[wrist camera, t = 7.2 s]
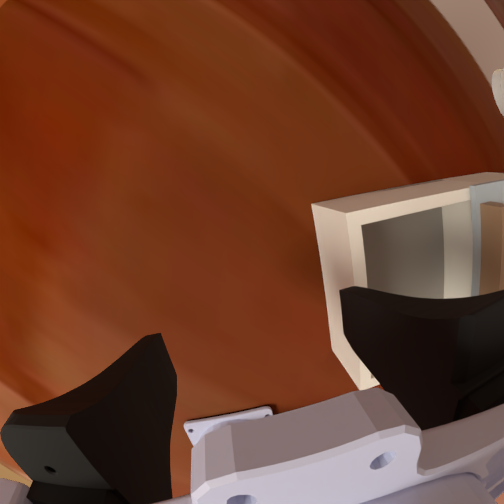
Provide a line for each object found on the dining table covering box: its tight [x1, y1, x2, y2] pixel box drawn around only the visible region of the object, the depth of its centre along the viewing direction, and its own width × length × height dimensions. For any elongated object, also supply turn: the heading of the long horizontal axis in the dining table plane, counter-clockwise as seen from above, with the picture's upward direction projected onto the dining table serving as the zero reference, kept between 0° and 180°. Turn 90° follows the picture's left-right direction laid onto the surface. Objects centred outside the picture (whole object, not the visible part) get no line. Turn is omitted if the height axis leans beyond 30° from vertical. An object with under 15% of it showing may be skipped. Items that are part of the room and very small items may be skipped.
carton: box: [311, 172, 504, 390], centre depth 21 cm, size 12×19×6 cm, turn 102°
